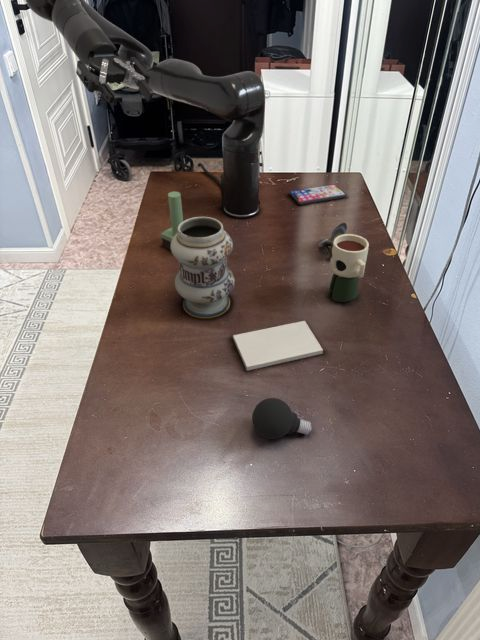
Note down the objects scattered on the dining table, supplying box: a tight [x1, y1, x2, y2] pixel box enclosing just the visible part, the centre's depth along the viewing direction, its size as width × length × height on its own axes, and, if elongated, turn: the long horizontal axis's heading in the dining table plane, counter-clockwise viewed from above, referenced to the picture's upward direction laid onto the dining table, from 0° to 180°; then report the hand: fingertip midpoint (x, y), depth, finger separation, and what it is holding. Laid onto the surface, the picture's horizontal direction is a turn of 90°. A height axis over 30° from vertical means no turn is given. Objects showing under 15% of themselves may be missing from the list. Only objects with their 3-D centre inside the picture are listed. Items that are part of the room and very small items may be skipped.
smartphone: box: [288, 183, 347, 206], centre depth 140 cm, size 8×1×15 cm
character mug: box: [328, 233, 370, 303], centre depth 102 cm, size 11×7×13 cm, turn 23°
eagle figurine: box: [317, 222, 348, 261], centre depth 117 cm, size 8×7×9 cm
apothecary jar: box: [170, 216, 236, 319], centre depth 97 cm, size 12×12×18 cm
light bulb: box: [251, 397, 312, 440], centre depth 78 cm, size 6×6×10 cm
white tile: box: [232, 320, 324, 372], centre depth 94 cm, size 15×9×1 cm, turn 109°
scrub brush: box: [160, 191, 184, 251], centre depth 115 cm, size 7×5×14 cm, turn 54°
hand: (133, 99), depth 101 cm, fingers open, 8 cm apart
